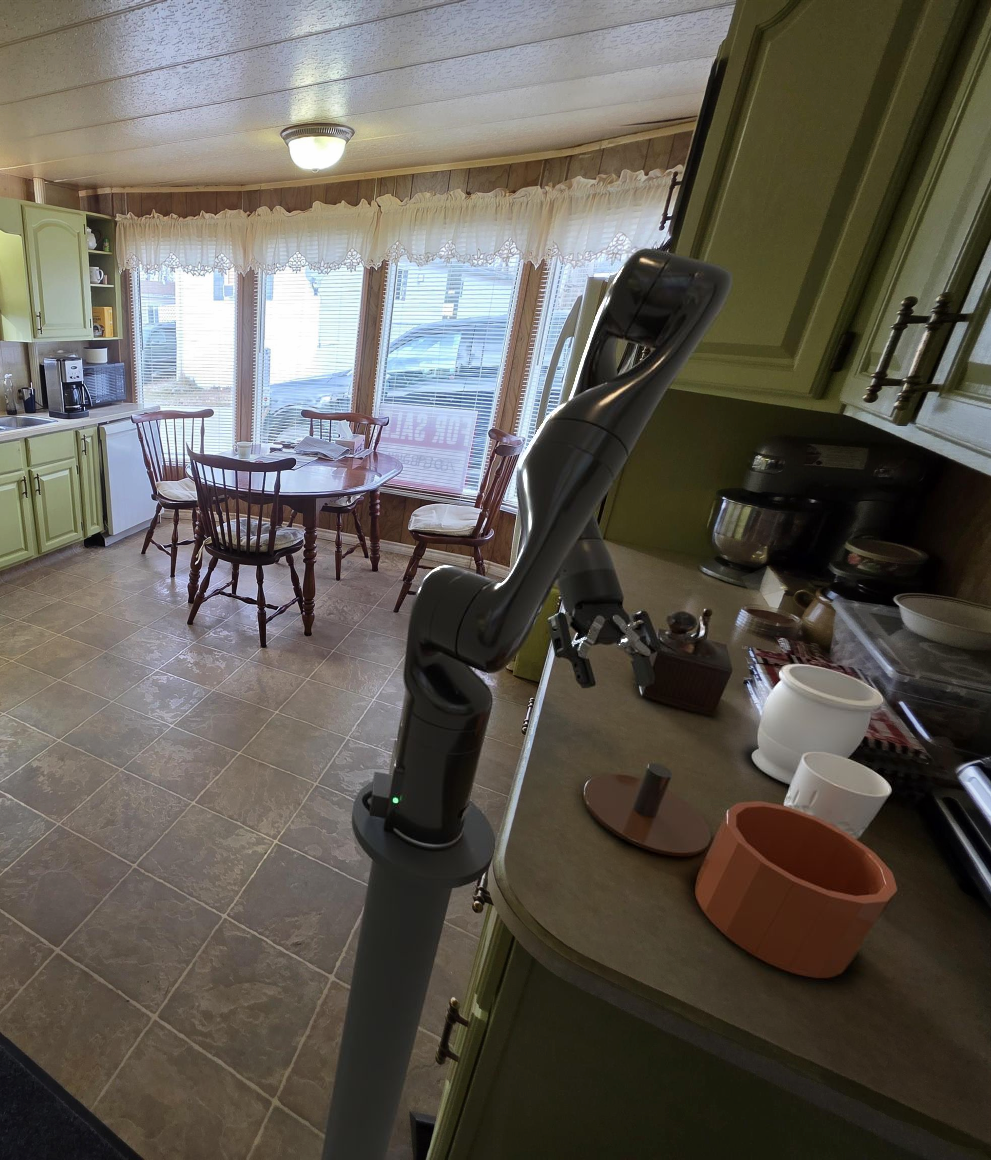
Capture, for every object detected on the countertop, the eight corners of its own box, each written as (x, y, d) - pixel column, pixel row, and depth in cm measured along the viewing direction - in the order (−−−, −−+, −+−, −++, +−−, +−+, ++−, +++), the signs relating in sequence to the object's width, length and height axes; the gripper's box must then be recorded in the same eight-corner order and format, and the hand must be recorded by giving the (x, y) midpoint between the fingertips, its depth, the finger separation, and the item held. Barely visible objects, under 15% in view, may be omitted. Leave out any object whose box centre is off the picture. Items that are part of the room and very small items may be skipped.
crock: (726, 957, 62) (765, 882, 58) (676, 859, 73) (705, 790, 69) (880, 994, 59) (933, 918, 55) (803, 886, 70) (842, 816, 66)
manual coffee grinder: (636, 670, 114) (666, 582, 107) (709, 689, 108) (746, 597, 101) (634, 710, 102) (669, 613, 95) (717, 734, 96) (759, 633, 89)
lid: (598, 844, 75) (615, 795, 72) (570, 771, 87) (584, 727, 84) (728, 872, 72) (752, 822, 69) (681, 792, 84) (699, 747, 81)
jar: (840, 807, 82) (892, 714, 76) (743, 774, 88) (784, 685, 82) (829, 766, 90) (875, 679, 84) (741, 738, 96) (778, 655, 90)
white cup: (857, 837, 77) (893, 775, 73) (851, 871, 72) (890, 806, 68) (776, 803, 82) (806, 743, 78) (766, 832, 77) (797, 770, 74)
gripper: (555, 567, 85) (587, 682, 79) (649, 565, 86) (688, 678, 80) (525, 586, 92) (552, 693, 86) (612, 585, 93) (646, 690, 87)
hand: (618, 686), depth 83 cm, fingers open, 8 cm apart
